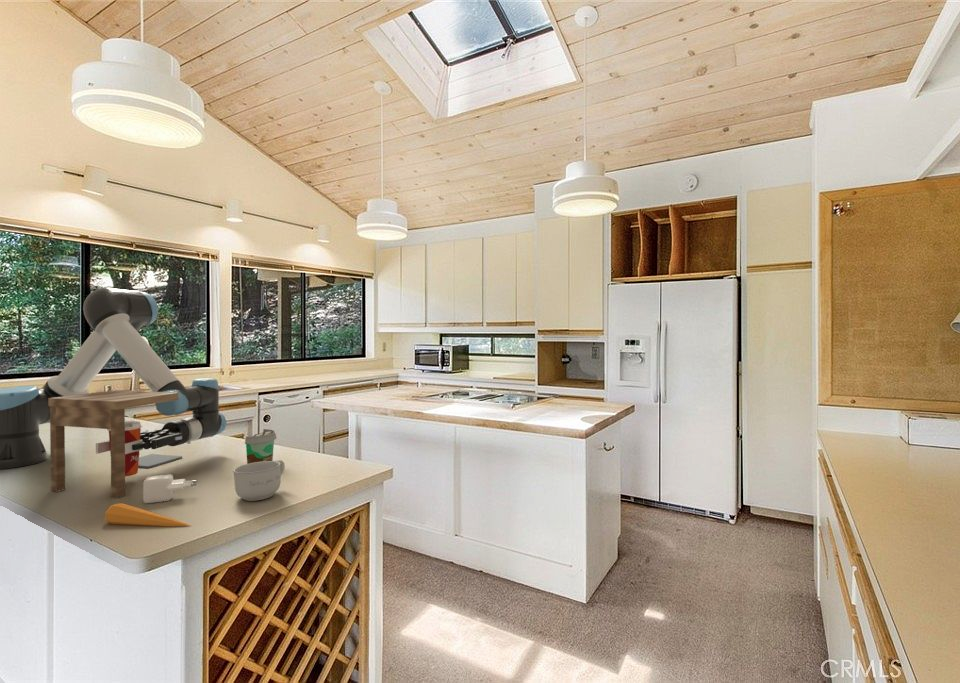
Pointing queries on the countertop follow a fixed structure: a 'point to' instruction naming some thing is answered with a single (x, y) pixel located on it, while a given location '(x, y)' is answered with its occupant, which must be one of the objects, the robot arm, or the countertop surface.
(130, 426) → the paper cup
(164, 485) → the power adapter
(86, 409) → the canopy shelf
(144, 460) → the slate mat
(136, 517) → the carrot
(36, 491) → the countertop surface
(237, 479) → the teacup
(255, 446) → the food container
